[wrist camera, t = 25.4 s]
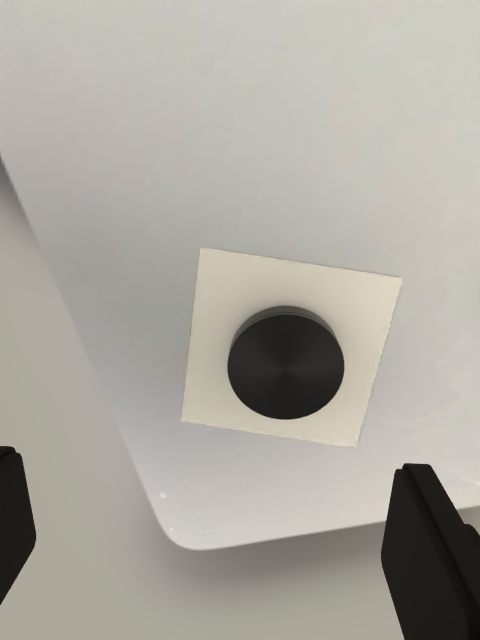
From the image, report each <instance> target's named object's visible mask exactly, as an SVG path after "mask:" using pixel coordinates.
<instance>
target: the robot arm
mask: <svg viewBox="0 0 480 640" xmlns="http://www.w3.org/2000/svg"><path fill="white" fill-rule="evenodd" d="M35 542H36V530H35V525H34V520H33V514H32V509H31V504H30V498H29V493H28V488H27V482H26V477H25V471H24V466H23V461H22V456H21V455H20V453H16V451H15V449H14V448H13V447H8V446H0V605H1V603H2V601H3V600H4V598H5V596H6V595H7V593H8V591H9V590H10V588H11V586H12V584H13V583H14V581H15V579H16V578H17V576H18V574H19V573H20V571H21V569H22V568H23V566H24V564H25V562H26V561H27V559H28V557H29V556H30V554H31V552H32V550H33V548H34V546H35ZM381 562H382V567H383V571H384V574H385V577H386V581H387V584H388V587H389V590H390V593H391V597H392V600H393V603H394V606H395V610H396V613H397V616H398V620H399V623H400V626H401V629H402V633H403V636H404V639H405V640H480V536H479V534H478V532H477V531H476V530H475V528H473V526H471V525H469V524H464V523H463V521H462V519H461V517H460V516H459V514H458V512H457V510H456V509H455V507H454V505H453V503H452V502H451V500H450V498H449V496H448V495H447V493H446V491H445V489H444V488H443V486H442V484H441V482H440V481H439V479H438V477H437V475H436V474H435V472H434V470H433V469H432V467H431V466H430V465H428V464H411V463H405V464H404V465H403V467H402V469H396V471H395V474H394V480H393V486H392V492H391V497H390V503H389V509H388V515H387V521H386V526H385V532H384V538H383V544H382V550H381Z"/></svg>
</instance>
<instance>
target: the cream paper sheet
mask: <svg viewBox="0 0 480 640" xmlns="http://www.w3.org/2000/svg"><path fill="white" fill-rule="evenodd" d="M402 281H403V278H401V277H394V276H387V275H381V274H374V273H368V272H361V271H354V270H348V269H341V268H335V267H328V266H321V265H315V264H308V263H302V262H295V261H288V260H282V259H275V258H269V257H262V256H255V255H249V254H242V253H236V252H229V251H222V250H216V249H209V248H203V247H200V253H199V262H198V271H197V280H196V289H195V298H194V307H193V317H192V326H191V335H190V344H189V353H188V362H187V371H186V381H185V390H184V399H183V408H182V417H181V421H182V422H189V423H195V424H202V425H208V426H215V427H222V428H228V429H235V430H241V431H248V432H254V433H261V434H267V435H274V436H280V437H287V438H293V439H300V440H306V441H313V442H319V443H326V444H332V445H339V446H345V447H352V448H356V445H357V441H358V438H359V434H360V431H361V427H362V424H363V420H364V417H365V413H366V409H367V406H368V402H369V399H370V395H371V392H372V388H373V384H374V381H375V377H376V374H377V370H378V367H379V363H380V360H381V356H382V352H383V349H384V345H385V342H386V338H387V335H388V331H389V328H390V324H391V320H392V317H393V313H394V310H395V306H396V303H397V299H398V296H399V292H400V288H401V285H402ZM276 306H294V307H300V308H303V309H306V310H308V311H311V312H313V313H315V314H316V315H318V316H319V317H321V318H322V319H323V320H324V321H325V322H326V323H327V324H328V325H329V326H330V327H331V329H332V330H333V332H334V334H335V336H336V338H337V340H338V342H339V345H340V347H341V350H342V353H343V357H344V366H345V369H344V376H343V380H342V383H341V386H340V388H339V390H338V392H337V393H336V395H335V396H334V397H333V399H332V400H331V401H330V402H329V403H328V404H327V405H326V406H324V407H323V408H322V409H320V410H319V411H317V412H315V413H313V414H311V415H309V416H306V417H303V418H298V419H292V420H279V419H272V418H269V417H265V416H262V415H260V414H258V413H256V412H254V411H252V410H251V409H249V408H248V407H247V406H246V405H244V404H243V403H242V402H241V401H240V399H239V398H238V397H237V396H236V394H235V393H234V391H233V389H232V387H231V385H230V381H229V378H228V371H227V363H228V357H229V352H230V346H231V343H232V340H233V338H234V336H235V334H236V332H237V330H238V329H239V328H240V326H241V325H242V324H243V323H244V322H245V321H246V320H247V319H248V318H250V317H251V316H253V315H254V314H256V313H258V312H260V311H262V310H265V309H267V308H271V307H276Z"/></svg>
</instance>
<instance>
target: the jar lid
mask: <svg viewBox="0 0 480 640" xmlns="http://www.w3.org/2000/svg"><path fill="white" fill-rule="evenodd" d="M344 369H345V366H344V357H343V353H342V350H341V347H340V345H339V342H338V340H337V338H336V336H335V334H334V332H333V330H332V329H331V327H330V326H329V325H328V324H327V323H326V322H325V321H324V320H323V319H322V318H321V317H319V316H318V315H316V314H315V313H313V312H311V311H308V310H306V309H303V308H300V307H294V306H276V307H271V308H267V309H265V310H262V311H260V312H258V313H256V314H254V315H253V316H251V317H250V318H248V319H247V320H246V321H245V322H244V323H243V324H242V325H241V326H240V328H239V329H238V330H237V332H236V334H235V336H234V338H233V340H232V343H231V346H230V352H229V357H228V363H227V371H228V378H229V381H230V385H231V387H232V389H233V391H234V393H235V394H236V396H237V397H238V398H239V399H240V401H241V402H242V403H243V404H244V405H246V406H247V407H248V408H249V409H251V410H252V411H254V412H256V413H258V414H260V415H262V416H265V417H269V418H272V419H279V420H292V419H298V418H303V417H306V416H309V415H311V414H313V413H315V412H317V411H319V410H320V409H322V408H323V407H324V406H326V405H327V404H328V403H329V402H330V401H331V400H332V399H333V397H334V396H335V395H336V393H337V392H338V390H339V388H340V386H341V383H342V380H343V376H344Z"/></svg>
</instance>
